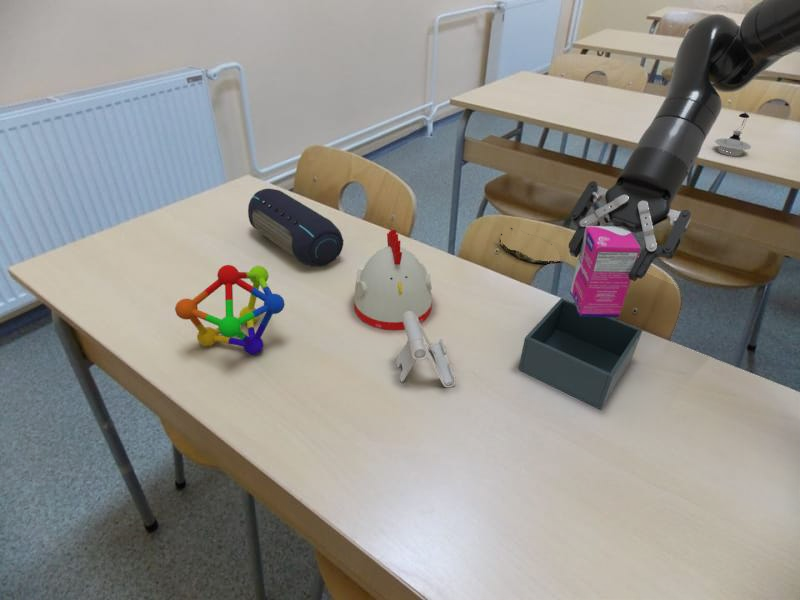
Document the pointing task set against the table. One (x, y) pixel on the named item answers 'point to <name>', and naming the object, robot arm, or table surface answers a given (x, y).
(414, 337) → the tablet stand
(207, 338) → the educational toy
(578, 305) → the supplement box
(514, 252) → the dark brown curved strip
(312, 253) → the portable speaker
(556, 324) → the bin
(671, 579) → the table surface
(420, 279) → the kitchen timer
